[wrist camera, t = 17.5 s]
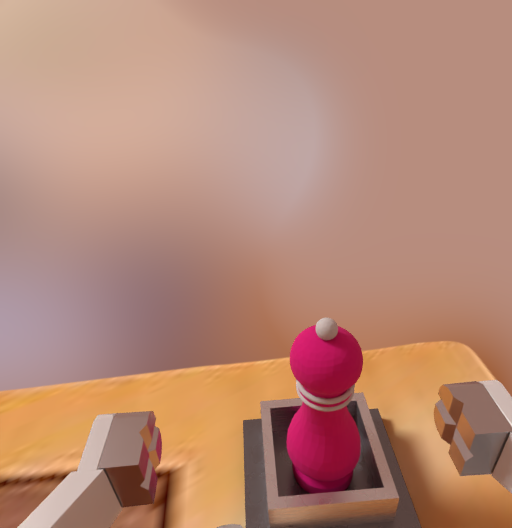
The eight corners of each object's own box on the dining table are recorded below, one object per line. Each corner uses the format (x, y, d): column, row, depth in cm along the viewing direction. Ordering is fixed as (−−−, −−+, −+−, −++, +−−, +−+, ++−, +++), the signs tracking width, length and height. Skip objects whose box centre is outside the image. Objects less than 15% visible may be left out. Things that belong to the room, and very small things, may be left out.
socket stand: (247, 550, 37) (242, 521, 34) (244, 428, 48) (240, 397, 45) (419, 535, 37) (428, 504, 34) (376, 416, 48) (380, 385, 45)
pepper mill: (280, 493, 40) (270, 345, 29) (295, 430, 46) (291, 288, 35) (355, 512, 38) (372, 361, 27) (360, 444, 44) (376, 298, 33)
